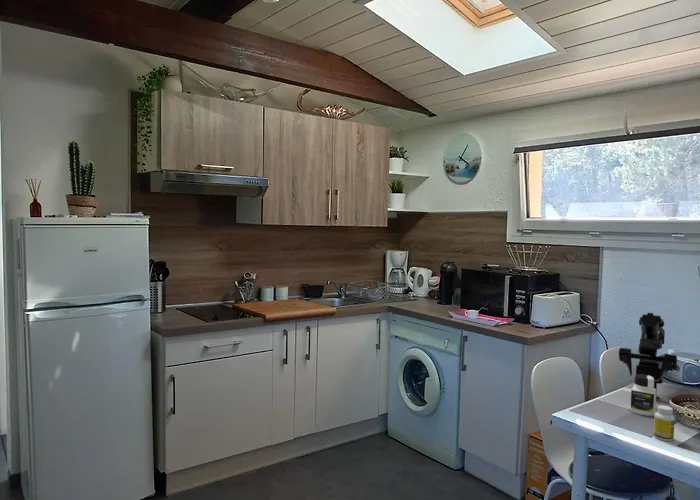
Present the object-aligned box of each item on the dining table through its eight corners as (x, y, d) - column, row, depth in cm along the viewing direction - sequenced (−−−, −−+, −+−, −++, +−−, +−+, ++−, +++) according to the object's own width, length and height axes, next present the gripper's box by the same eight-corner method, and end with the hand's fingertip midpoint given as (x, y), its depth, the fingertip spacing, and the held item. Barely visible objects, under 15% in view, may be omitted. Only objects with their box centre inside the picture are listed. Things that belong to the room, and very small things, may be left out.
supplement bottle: (673, 443, 155) (675, 411, 155) (653, 439, 158) (654, 408, 158) (673, 437, 160) (675, 406, 159) (653, 433, 163) (655, 403, 162)
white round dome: (623, 406, 187) (623, 403, 187) (648, 407, 187) (648, 404, 187) (636, 415, 178) (636, 412, 178) (662, 416, 178) (662, 413, 178)
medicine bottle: (630, 408, 182) (631, 375, 181) (633, 403, 188) (634, 371, 187) (653, 413, 178) (654, 379, 177) (655, 408, 183) (657, 375, 183)
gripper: (620, 326, 194) (615, 361, 186) (678, 333, 184) (675, 370, 175) (622, 343, 201) (617, 377, 192) (678, 350, 190) (675, 386, 182)
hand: (645, 377), depth 185 cm, fingers open, 9 cm apart
